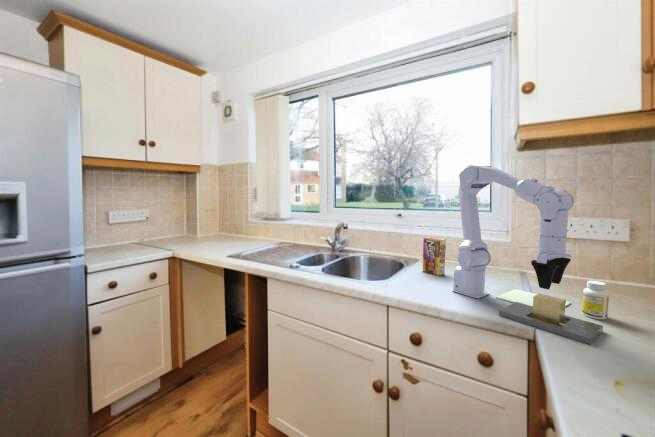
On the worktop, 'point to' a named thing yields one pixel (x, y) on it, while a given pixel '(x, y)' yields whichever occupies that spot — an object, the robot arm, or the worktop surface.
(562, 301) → the tan rectangular block
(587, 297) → the supplement bottle
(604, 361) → the worktop surface
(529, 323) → the iron frame
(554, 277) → the robot arm
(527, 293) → the sage mat
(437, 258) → the candy box
